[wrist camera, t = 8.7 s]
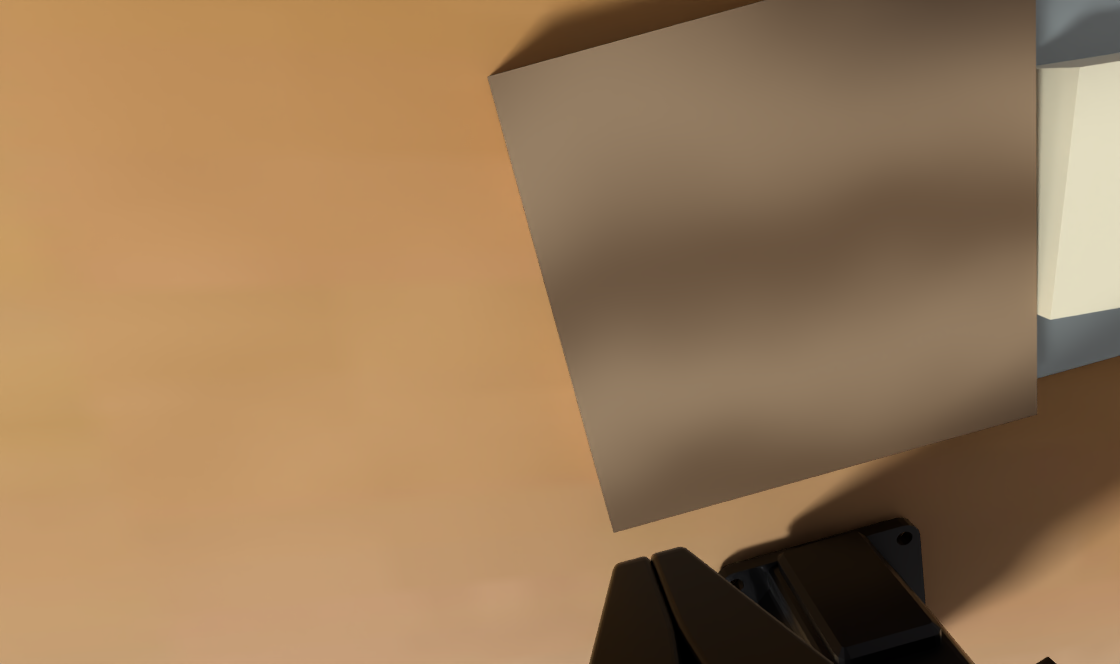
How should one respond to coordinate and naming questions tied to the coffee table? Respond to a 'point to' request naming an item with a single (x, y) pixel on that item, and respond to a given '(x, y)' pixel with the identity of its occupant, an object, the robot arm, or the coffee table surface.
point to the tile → (1078, 186)
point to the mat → (1062, 35)
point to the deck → (785, 238)
